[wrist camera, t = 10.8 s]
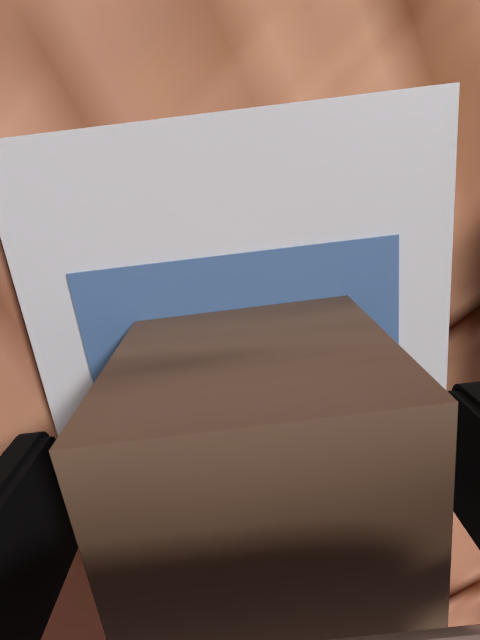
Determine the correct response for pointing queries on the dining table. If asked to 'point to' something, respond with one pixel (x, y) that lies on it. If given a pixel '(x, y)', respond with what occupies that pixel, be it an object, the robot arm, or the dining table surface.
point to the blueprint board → (232, 223)
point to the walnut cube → (263, 479)
